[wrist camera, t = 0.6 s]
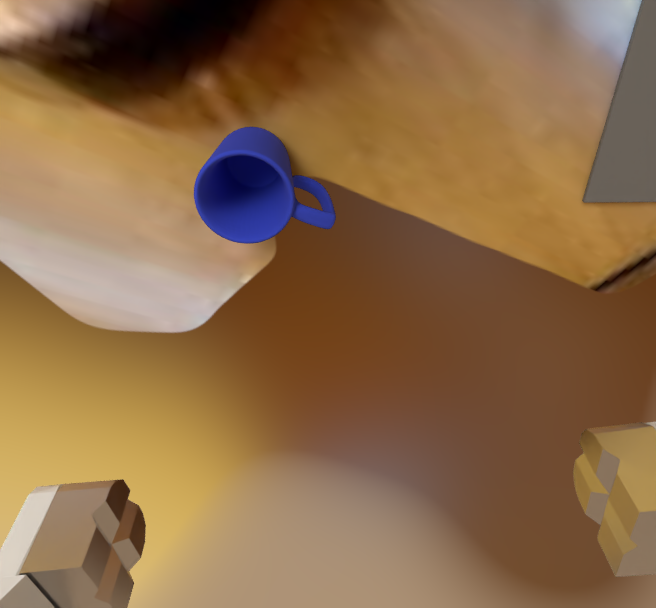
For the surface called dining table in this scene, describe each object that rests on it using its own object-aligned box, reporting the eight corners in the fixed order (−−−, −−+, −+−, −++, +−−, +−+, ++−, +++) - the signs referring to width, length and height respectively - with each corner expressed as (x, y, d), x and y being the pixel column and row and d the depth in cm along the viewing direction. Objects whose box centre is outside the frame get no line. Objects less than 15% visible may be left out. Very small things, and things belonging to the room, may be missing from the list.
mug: (317, 219, 55) (318, 268, 47) (203, 183, 52) (184, 227, 44) (345, 147, 51) (352, 185, 43) (223, 103, 48) (206, 135, 40)
